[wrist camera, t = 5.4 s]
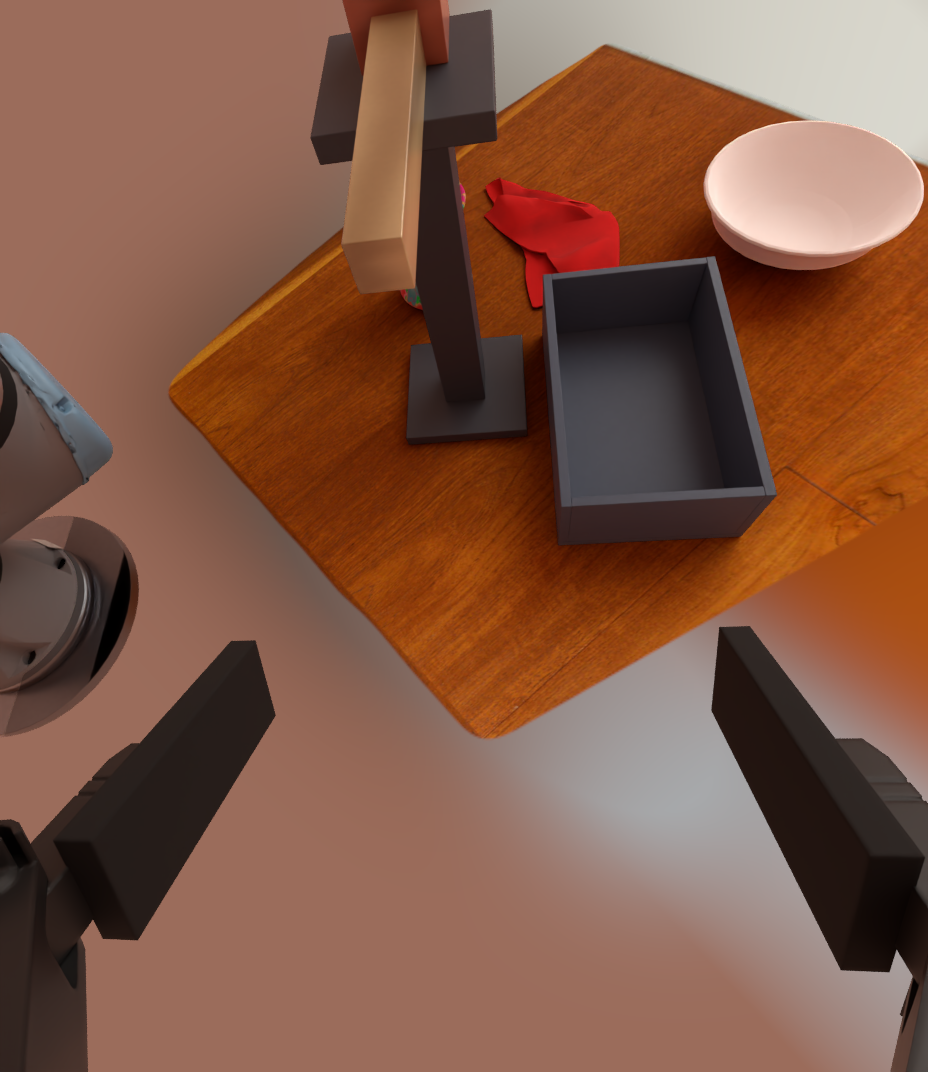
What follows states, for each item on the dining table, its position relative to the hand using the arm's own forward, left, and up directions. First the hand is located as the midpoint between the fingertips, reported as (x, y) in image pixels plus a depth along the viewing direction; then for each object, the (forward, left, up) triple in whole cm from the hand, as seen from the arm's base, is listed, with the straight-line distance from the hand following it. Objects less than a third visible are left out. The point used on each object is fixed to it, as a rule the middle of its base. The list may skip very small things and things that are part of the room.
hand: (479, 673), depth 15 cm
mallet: (-4, +28, -1) cm, 28 cm away
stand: (-4, +34, -30) cm, 45 cm away
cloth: (+7, +55, -30) cm, 63 cm away
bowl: (+31, +51, -30) cm, 66 cm away
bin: (+12, +28, -30) cm, 43 cm away
